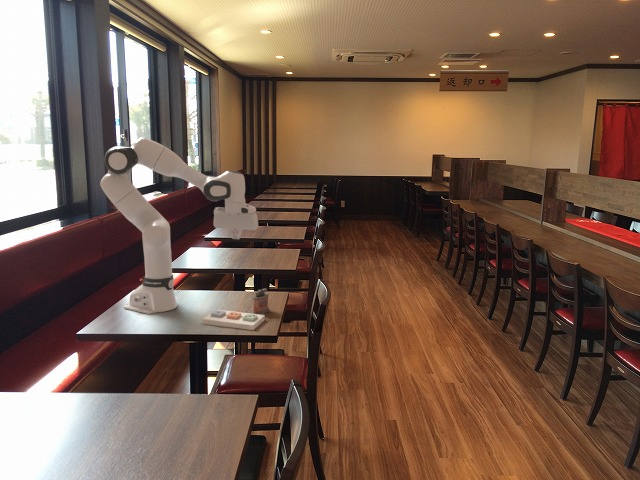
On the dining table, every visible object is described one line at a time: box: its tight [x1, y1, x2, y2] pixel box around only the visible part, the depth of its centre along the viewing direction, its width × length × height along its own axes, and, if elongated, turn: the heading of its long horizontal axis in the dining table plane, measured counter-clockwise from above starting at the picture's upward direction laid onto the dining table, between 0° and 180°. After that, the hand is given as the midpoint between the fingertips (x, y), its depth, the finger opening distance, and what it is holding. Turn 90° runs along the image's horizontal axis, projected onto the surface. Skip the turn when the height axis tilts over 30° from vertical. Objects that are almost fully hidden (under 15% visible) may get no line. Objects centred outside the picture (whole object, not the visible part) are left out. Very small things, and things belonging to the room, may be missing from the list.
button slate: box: [210, 309, 227, 318], centre depth 209 cm, size 4×4×3 cm
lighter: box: [252, 287, 270, 315], centre depth 218 cm, size 8×3×10 cm, turn 143°
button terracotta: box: [227, 311, 241, 320], centre depth 207 cm, size 4×4×3 cm
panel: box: [201, 309, 266, 331], centre depth 207 cm, size 22×12×2 cm, turn 74°
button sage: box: [243, 313, 257, 322], centre depth 205 cm, size 4×4×3 cm
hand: (235, 238), depth 226 cm, fingers closed
